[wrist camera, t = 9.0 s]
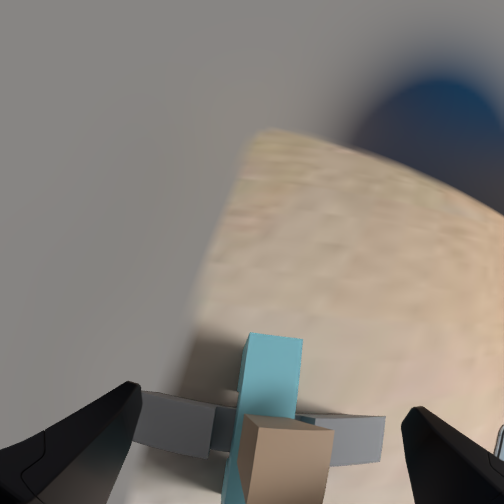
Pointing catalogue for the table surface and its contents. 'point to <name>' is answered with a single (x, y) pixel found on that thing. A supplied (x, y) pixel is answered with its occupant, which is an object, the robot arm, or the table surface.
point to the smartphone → (500, 445)
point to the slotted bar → (222, 424)
